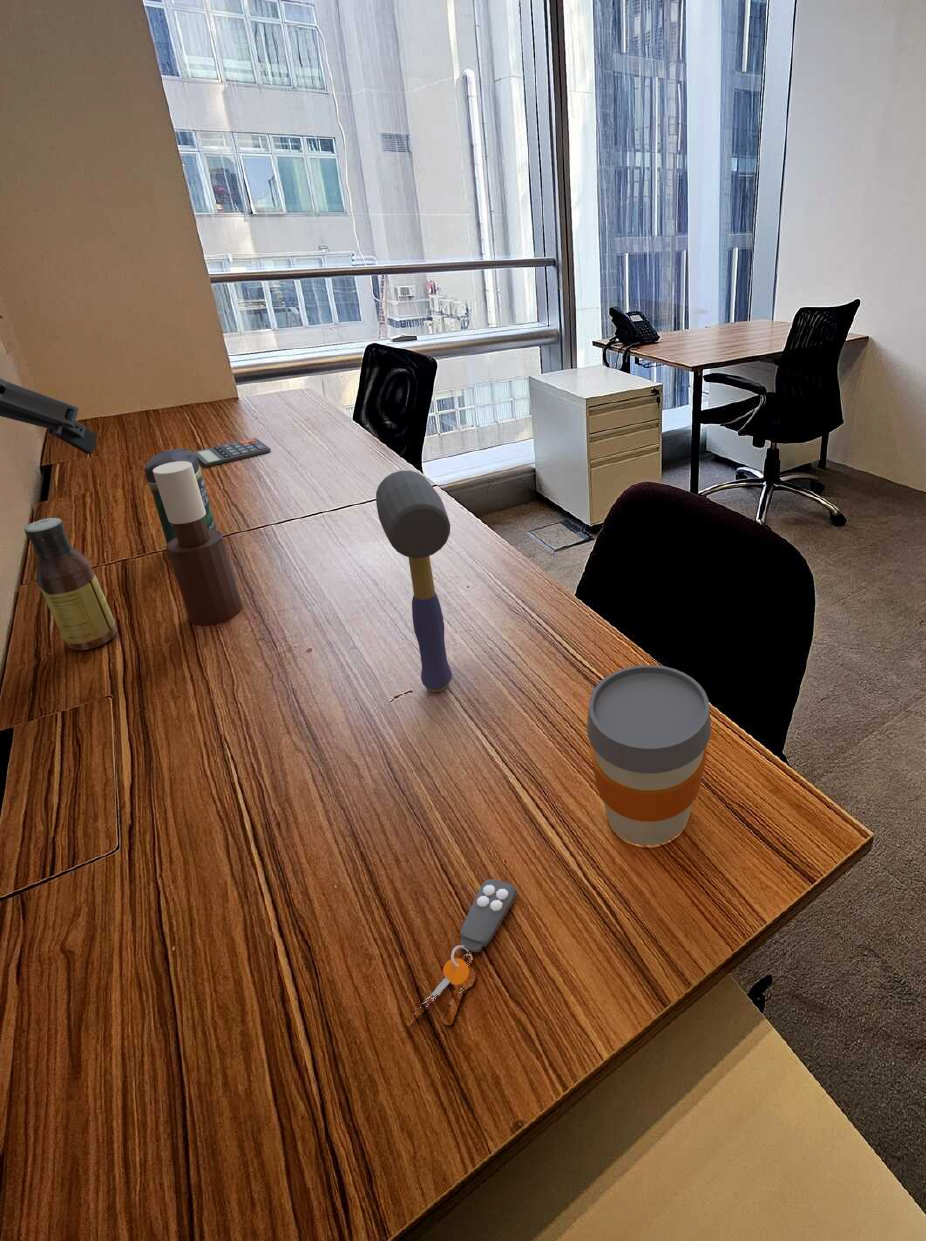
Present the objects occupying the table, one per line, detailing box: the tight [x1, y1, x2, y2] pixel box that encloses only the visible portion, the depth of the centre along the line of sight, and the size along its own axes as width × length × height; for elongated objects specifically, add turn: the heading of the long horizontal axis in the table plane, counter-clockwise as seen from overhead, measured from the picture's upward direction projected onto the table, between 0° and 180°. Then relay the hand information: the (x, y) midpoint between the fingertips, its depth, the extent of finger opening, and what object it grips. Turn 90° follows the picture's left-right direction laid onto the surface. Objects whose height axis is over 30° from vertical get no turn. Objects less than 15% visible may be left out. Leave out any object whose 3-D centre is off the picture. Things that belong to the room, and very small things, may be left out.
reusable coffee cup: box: [586, 664, 712, 845], centre depth 70 cm, size 13×13×15 cm
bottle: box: [165, 517, 243, 626], centre depth 104 cm, size 7×7×17 cm
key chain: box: [414, 878, 517, 1014], centre depth 59 cm, size 13×4×2 cm, turn 163°
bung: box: [153, 461, 206, 524], centre depth 100 cm, size 5×5×10 cm
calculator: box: [192, 437, 272, 468], centre depth 172 cm, size 12×1×15 cm
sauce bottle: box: [24, 517, 118, 651], centre depth 97 cm, size 7×6×20 cm
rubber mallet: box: [375, 470, 453, 693], centre depth 86 cm, size 12×8×30 cm, turn 27°
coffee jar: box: [143, 448, 219, 544], centre depth 124 cm, size 10×8×19 cm
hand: (37, 445), depth 88 cm, fingers open, 13 cm apart
